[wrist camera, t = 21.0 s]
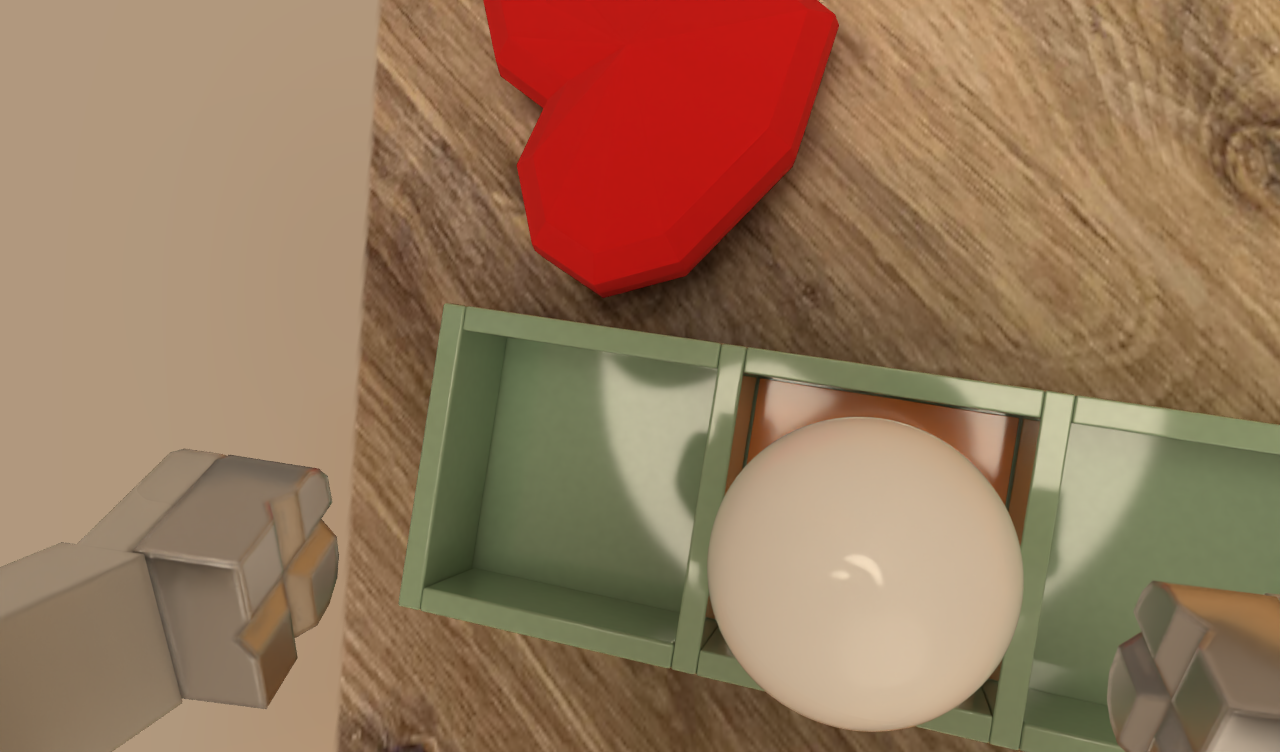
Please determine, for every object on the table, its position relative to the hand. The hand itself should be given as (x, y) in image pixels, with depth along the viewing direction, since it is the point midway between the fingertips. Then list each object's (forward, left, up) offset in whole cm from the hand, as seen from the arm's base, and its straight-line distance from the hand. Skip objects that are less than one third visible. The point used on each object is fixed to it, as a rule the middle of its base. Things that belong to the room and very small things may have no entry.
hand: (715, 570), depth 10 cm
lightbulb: (+1, -2, -19) cm, 19 cm away
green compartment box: (+2, -2, -20) cm, 20 cm away
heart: (-6, +10, -20) cm, 23 cm away
